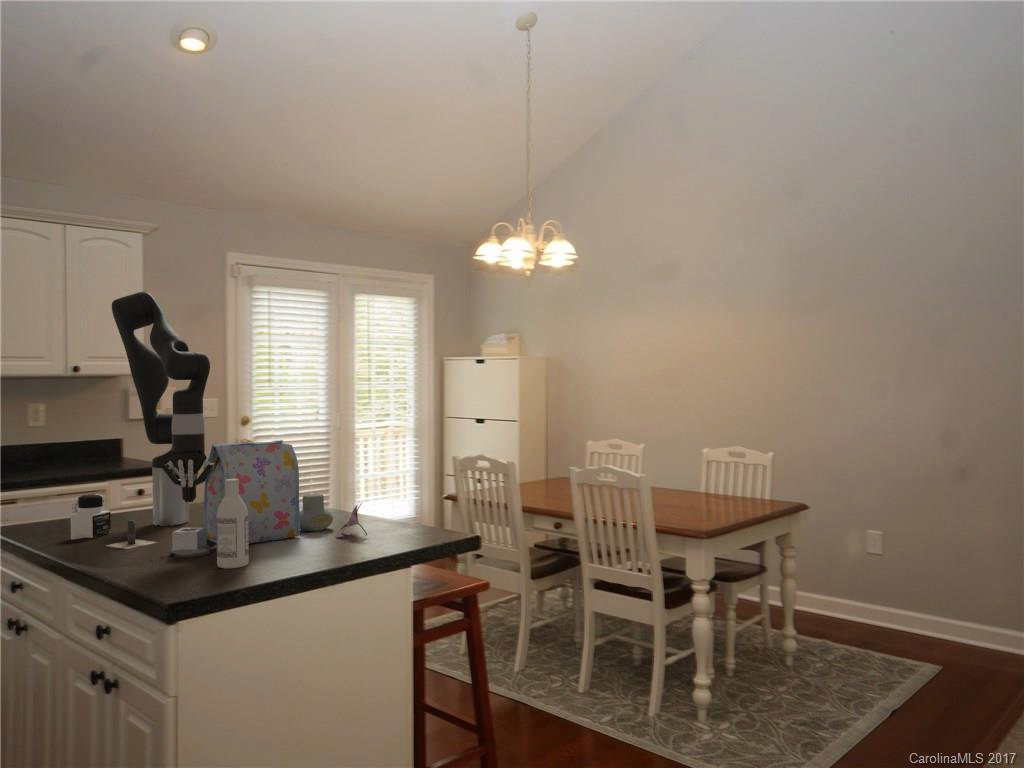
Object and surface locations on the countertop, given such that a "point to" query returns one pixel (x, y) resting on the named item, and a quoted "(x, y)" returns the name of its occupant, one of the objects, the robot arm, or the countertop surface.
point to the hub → (190, 552)
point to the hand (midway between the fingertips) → (189, 501)
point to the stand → (131, 539)
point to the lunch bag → (256, 488)
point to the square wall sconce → (189, 538)
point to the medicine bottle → (90, 518)
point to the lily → (352, 519)
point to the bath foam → (232, 529)
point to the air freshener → (314, 514)
